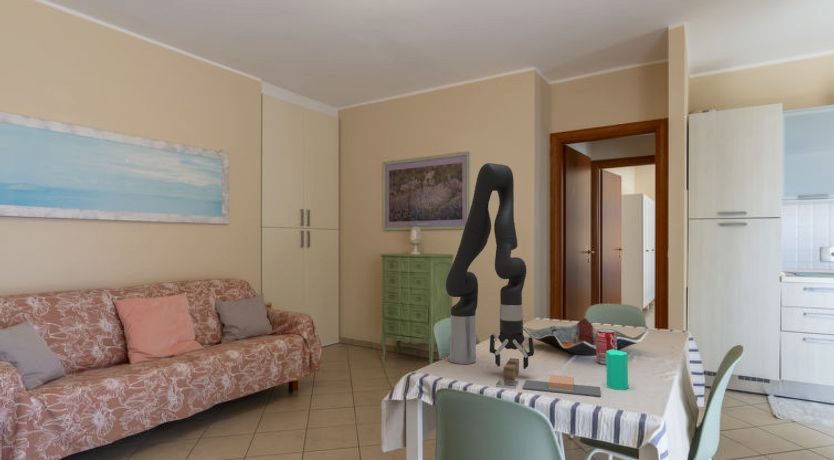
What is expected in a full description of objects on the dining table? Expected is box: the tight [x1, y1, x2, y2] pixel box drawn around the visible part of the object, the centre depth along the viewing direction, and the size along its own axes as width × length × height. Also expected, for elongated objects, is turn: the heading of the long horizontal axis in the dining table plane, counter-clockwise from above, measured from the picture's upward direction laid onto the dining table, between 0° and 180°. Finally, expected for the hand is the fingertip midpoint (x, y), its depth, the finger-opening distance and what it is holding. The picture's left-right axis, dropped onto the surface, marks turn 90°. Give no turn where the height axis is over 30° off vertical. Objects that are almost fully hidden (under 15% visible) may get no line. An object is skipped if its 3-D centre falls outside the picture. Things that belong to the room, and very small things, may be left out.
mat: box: [522, 379, 602, 398], centre depth 141 cm, size 22×8×1 cm, turn 70°
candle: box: [605, 346, 629, 391], centre depth 143 cm, size 6×6×12 cm
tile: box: [548, 374, 575, 391], centre depth 142 cm, size 7×2×8 cm
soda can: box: [595, 328, 618, 366], centre depth 170 cm, size 7×7×12 cm
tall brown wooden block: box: [495, 357, 520, 390], centre depth 152 cm, size 19×6×4 cm, turn 160°
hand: (511, 367), depth 154 cm, fingers open, 8 cm apart
